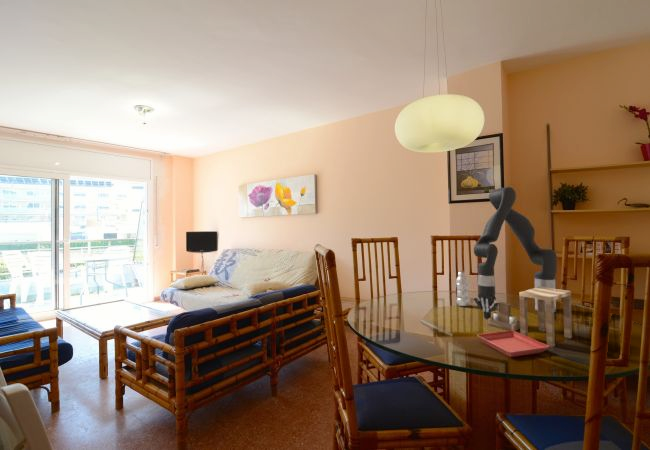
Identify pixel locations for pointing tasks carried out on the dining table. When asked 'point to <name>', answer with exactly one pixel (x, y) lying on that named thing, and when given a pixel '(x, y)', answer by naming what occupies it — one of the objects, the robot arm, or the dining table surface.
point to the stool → (549, 296)
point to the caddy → (504, 318)
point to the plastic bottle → (462, 289)
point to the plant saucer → (512, 343)
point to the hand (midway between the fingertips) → (487, 319)
